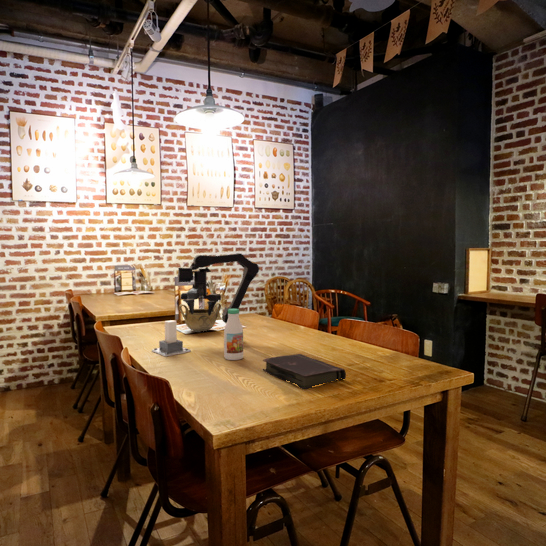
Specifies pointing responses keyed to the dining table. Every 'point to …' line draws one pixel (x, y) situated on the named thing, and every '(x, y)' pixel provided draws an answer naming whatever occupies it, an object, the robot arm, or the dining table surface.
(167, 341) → the rail post
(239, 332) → the milk bottle
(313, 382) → the diary
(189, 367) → the dining table surface
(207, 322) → the ceramic bowl
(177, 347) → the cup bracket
